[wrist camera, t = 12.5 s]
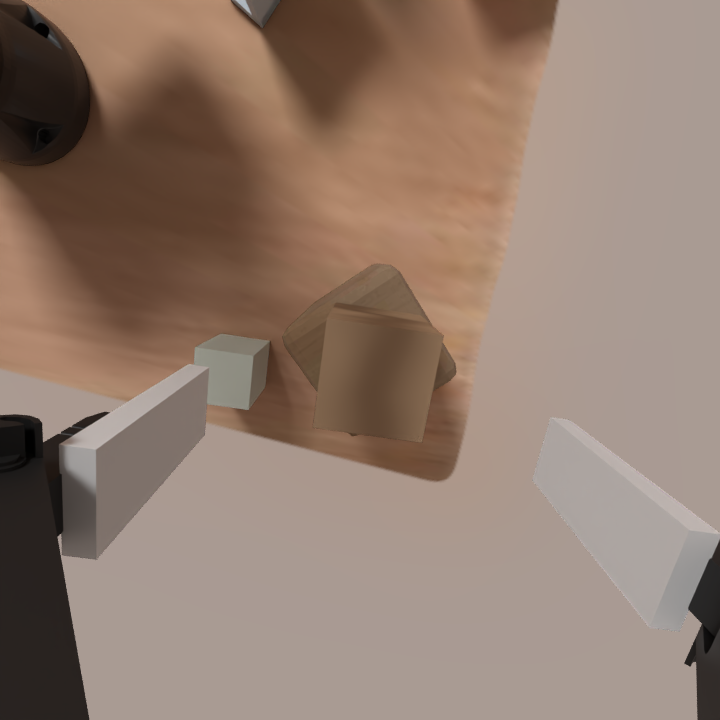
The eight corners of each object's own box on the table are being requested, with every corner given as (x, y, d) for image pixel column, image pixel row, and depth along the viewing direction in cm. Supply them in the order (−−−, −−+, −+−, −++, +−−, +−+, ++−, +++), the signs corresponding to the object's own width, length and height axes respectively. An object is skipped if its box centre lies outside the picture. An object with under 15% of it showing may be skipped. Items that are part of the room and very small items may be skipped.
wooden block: (308, 306, 48) (273, 337, 28) (378, 259, 47) (393, 259, 27) (353, 373, 50) (350, 445, 30) (422, 331, 49) (465, 377, 29)
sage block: (217, 380, 50) (191, 401, 42) (221, 333, 49) (194, 347, 41) (265, 387, 50) (248, 410, 42) (270, 340, 49) (253, 355, 41)
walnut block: (324, 383, 29) (312, 427, 21) (335, 302, 28) (327, 318, 20) (405, 395, 29) (421, 442, 22) (420, 314, 28) (444, 335, 20)
